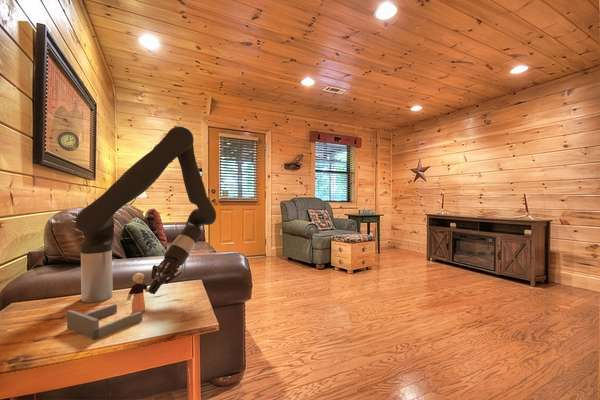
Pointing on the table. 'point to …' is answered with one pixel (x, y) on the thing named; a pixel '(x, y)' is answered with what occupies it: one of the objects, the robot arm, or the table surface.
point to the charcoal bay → (90, 322)
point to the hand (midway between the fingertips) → (150, 292)
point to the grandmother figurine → (138, 294)
